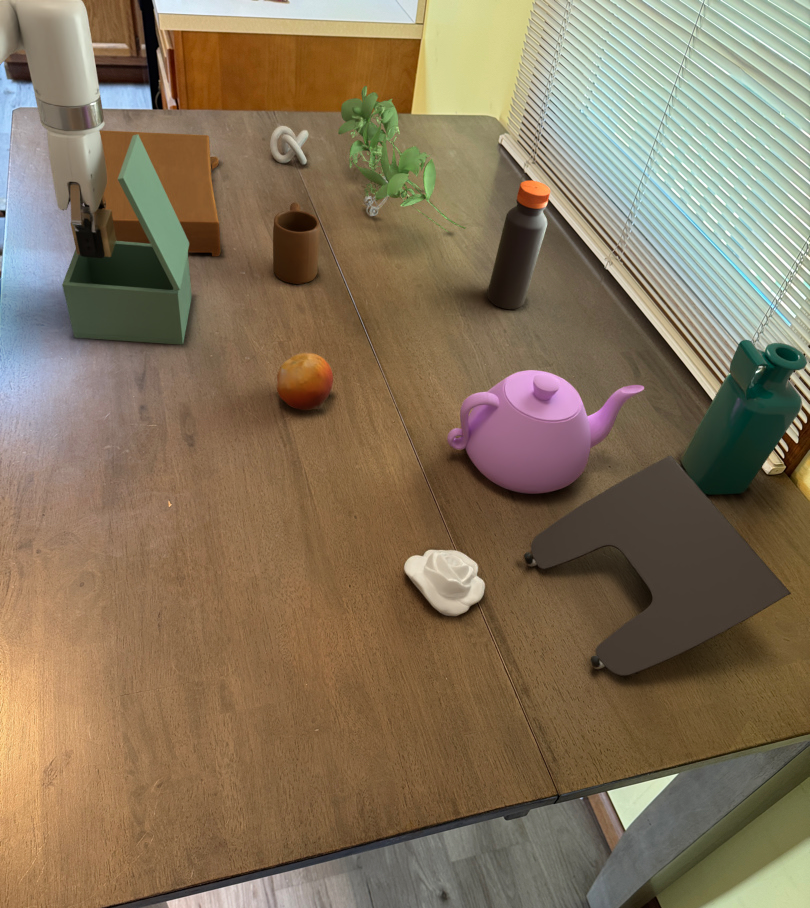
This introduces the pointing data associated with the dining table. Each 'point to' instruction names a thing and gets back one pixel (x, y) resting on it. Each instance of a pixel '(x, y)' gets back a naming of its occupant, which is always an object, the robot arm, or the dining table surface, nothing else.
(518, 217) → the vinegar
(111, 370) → the dining table surface
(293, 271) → the mug
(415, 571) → the rose
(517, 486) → the teapot
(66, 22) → the robot arm
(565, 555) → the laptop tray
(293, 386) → the fruit
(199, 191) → the wooden box
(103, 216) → the block
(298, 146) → the knot
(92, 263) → the chest
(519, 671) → the dining table surface
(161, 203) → the lid
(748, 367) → the dark green tall bottle
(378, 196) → the plant cuttings
